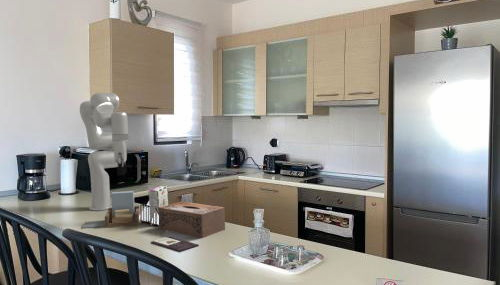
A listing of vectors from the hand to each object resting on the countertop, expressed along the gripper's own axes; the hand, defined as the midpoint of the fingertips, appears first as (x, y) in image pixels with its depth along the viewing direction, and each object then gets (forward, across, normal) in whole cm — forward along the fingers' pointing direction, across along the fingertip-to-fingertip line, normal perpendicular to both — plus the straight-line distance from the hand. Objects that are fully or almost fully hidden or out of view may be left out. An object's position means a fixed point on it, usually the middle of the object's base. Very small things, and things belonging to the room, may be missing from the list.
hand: (122, 173), depth 197 cm
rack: (+23, +2, 0) cm, 23 cm away
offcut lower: (+23, +5, 0) cm, 24 cm away
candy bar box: (+23, +8, +17) cm, 30 cm away
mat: (+23, +2, -13) cm, 26 cm away
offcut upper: (+19, +5, 0) cm, 20 cm away
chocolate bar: (+24, +44, +23) cm, 55 cm away
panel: (+23, -1, 0) cm, 23 cm away
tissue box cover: (+24, +24, +31) cm, 46 cm away
